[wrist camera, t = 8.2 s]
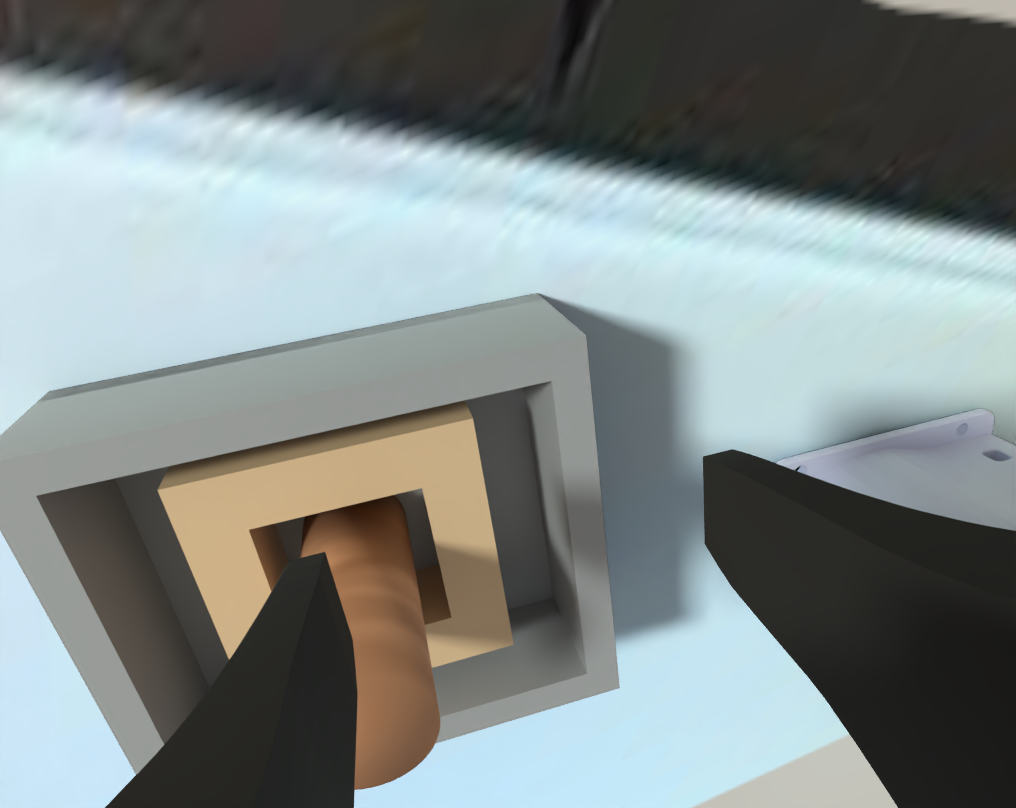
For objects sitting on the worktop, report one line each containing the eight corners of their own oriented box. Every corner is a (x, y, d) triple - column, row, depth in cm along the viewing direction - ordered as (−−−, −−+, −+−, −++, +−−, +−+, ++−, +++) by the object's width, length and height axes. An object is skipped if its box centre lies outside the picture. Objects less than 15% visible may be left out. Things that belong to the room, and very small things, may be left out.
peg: (394, 470, 21) (424, 656, 13) (415, 553, 22) (452, 762, 15) (290, 496, 20) (263, 702, 13) (318, 579, 21) (308, 807, 14)
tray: (537, 293, 20) (585, 335, 16) (575, 597, 25) (619, 688, 21) (49, 391, 18) (-35, 467, 14) (194, 702, 23) (164, 825, 19)
